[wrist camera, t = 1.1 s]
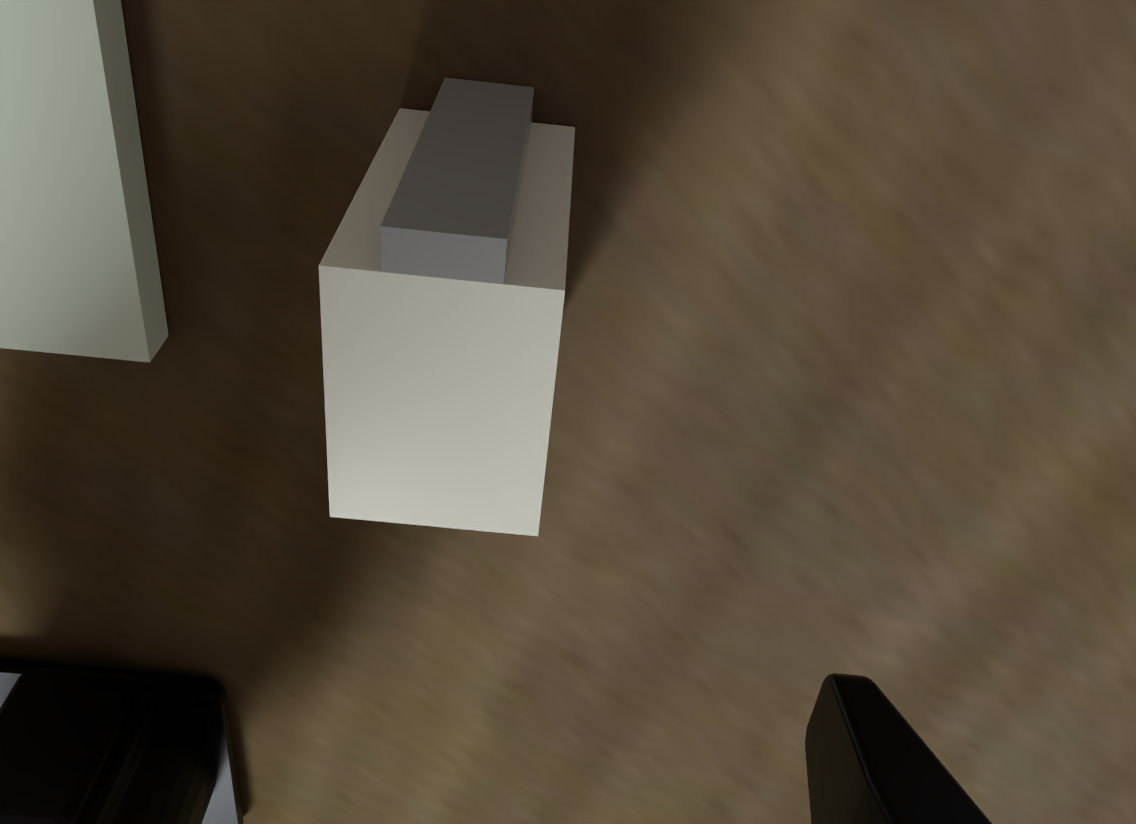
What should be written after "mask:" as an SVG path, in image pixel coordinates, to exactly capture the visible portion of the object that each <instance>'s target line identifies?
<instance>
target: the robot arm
mask: <svg viewBox="0 0 1136 824" xmlns="http://www.w3.org/2000/svg"><path fill="white" fill-rule="evenodd" d="M805 751H806V763H807V775H808V787H809V799H810V811H811V823H812V824H992V823H991V822H990V821H989V820H988V818H987V817H986V816H985V815H984V814H983V812H982V811H981V810H980V809H979V808H978V806H977V805H976V804H975V803H974V802H973V800H972V799H971V798H970V797H969V796H968V794H967V793H966V792H965V791H964V789H963V788H962V787H961V786H960V785H959V783H958V782H957V781H956V780H955V779H954V777H953V776H952V775H951V774H950V773H949V771H948V770H947V769H946V768H945V767H944V765H943V764H942V763H941V762H940V761H939V759H938V758H937V757H936V756H935V755H934V753H933V752H932V751H931V750H930V749H929V747H928V746H927V745H926V744H925V743H924V741H923V740H922V739H921V738H920V737H919V735H918V734H917V733H916V732H915V731H914V729H913V728H912V727H911V726H910V725H909V723H908V722H907V721H906V720H905V719H904V717H903V716H902V715H901V714H900V713H899V711H898V710H897V709H896V708H895V707H894V705H893V704H892V703H891V702H890V701H889V699H888V698H887V697H886V696H885V695H884V693H883V692H882V691H881V690H880V689H879V687H878V686H877V685H876V684H875V683H874V682H873V681H872V680H871V679H869V678H867V677H865V676H858V675H847V674H835V673H834V674H830V675H828V676H827V677H826V678H825V680H824V681H823V683H822V686H821V689H820V692H819V695H818V697H817V700H816V703H815V706H814V709H813V711H812V714H811V717H810V720H809V723H808V726H807V731H806V739H805ZM243 822H244V821H243V813H242V806H241V799H240V791H239V784H238V777H237V770H236V762H235V755H234V748H233V740H232V733H231V726H230V718H229V711H228V704H227V697H226V691H225V689H224V687H223V686H222V685H221V684H220V683H219V682H218V681H216V680H214V679H211V678H207V677H199V676H188V675H176V674H165V673H153V672H142V671H131V670H119V669H108V668H96V667H85V666H73V665H62V664H50V663H39V662H27V661H16V660H5V659H0V824H243Z"/></svg>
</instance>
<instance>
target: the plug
mask: <svg viewBox="0 0 1136 824" xmlns="http://www.w3.org/2000/svg"><path fill="white" fill-rule="evenodd" d="M533 97H534V87H528V86H519V85H509V84H500V83H491V82H482V81H473V80H463V79H454V78H444V81H443V83H442V85H441V87H440V90H439V92H438V94H437V97H436V99H435V101H434V104H433V106H432V108H431V111H421V110H412V109H402V108H400V109H399V110H398V112H397V114H396V116H395V118H394V120H393V122H392V124H391V126H390V128H389V130H388V132H387V134H386V136H385V138H384V140H383V142H382V143H381V145H380V147H379V149H378V151H377V153H376V155H375V157H374V159H373V161H372V163H371V165H370V167H369V169H368V171H367V173H366V175H365V177H364V178H363V180H362V182H361V184H360V186H359V188H358V190H357V192H356V194H355V196H354V198H353V200H352V202H351V204H350V206H349V208H348V210H347V211H346V213H345V215H344V217H343V219H342V221H341V223H340V225H339V227H338V229H337V231H336V233H335V235H334V237H333V239H332V241H331V243H330V245H329V246H328V248H327V250H326V252H325V254H324V256H323V258H322V260H321V262H320V264H319V285H320V308H321V330H322V353H323V376H324V398H325V421H326V444H327V467H328V489H329V512H330V517H337V518H348V519H358V520H369V521H380V522H390V523H401V524H412V525H423V526H433V527H444V528H455V529H466V530H476V531H487V532H498V533H509V534H519V535H530V536H538V532H539V522H540V513H541V504H542V495H543V486H544V477H545V468H546V459H547V450H548V441H549V432H550V423H551V414H552V405H553V396H554V387H555V377H556V368H557V359H558V350H559V341H560V332H561V323H562V314H563V305H564V296H565V284H566V268H567V251H568V235H569V219H570V203H571V186H572V170H573V154H574V138H575V127H570V126H561V125H551V124H542V123H533V122H532V110H533Z"/></svg>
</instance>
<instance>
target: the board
mask: <svg viewBox="0 0 1136 824" xmlns="http://www.w3.org/2000/svg"><path fill="white" fill-rule="evenodd" d="M168 336H169V335H168V328H167V321H166V314H165V307H164V300H163V293H162V286H161V279H160V272H159V265H158V258H157V251H156V244H155V237H154V230H153V223H152V216H151V209H150V202H149V195H148V188H147V181H146V174H145V167H144V159H143V152H142V145H141V138H140V131H139V124H138V117H137V110H136V103H135V96H134V89H133V82H132V75H131V68H130V61H129V54H128V47H127V40H126V33H125V26H124V19H123V12H122V5H121V0H0V348H6V349H16V350H27V351H37V352H47V353H57V354H67V355H78V356H88V357H98V358H108V359H119V360H129V361H139V362H149V363H150V362H151V360H152V359H153V357H154V356H155V355H156V353H157V352H158V350H159V349H160V347H161V346H162V345H163V343H164V342H165V340H166V339H167V337H168Z"/></svg>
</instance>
